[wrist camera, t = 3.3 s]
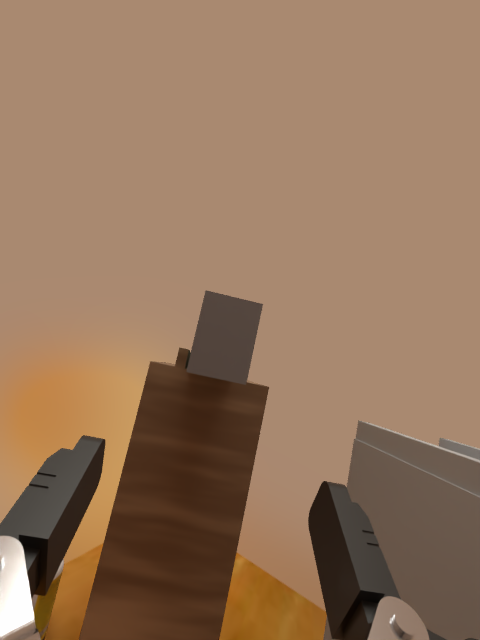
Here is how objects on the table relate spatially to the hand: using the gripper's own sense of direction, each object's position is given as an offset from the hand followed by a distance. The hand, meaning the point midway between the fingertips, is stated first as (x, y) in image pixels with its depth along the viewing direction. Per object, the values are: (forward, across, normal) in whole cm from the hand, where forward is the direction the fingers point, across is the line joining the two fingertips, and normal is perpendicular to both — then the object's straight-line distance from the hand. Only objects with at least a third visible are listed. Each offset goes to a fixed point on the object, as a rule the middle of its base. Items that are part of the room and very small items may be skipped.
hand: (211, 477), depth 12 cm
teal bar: (+18, 0, +7) cm, 19 cm away
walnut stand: (+5, 0, +36) cm, 36 cm away
